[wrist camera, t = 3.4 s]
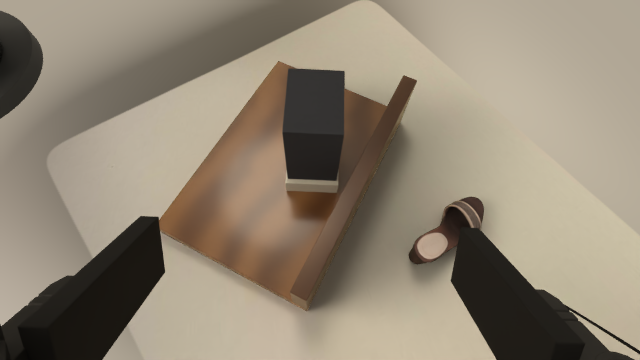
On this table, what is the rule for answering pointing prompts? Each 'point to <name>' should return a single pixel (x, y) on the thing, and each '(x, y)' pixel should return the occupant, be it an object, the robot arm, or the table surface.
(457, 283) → the robot arm
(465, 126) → the table surface
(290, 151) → the trainer
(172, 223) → the shoe shelf
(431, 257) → the heeled mule
